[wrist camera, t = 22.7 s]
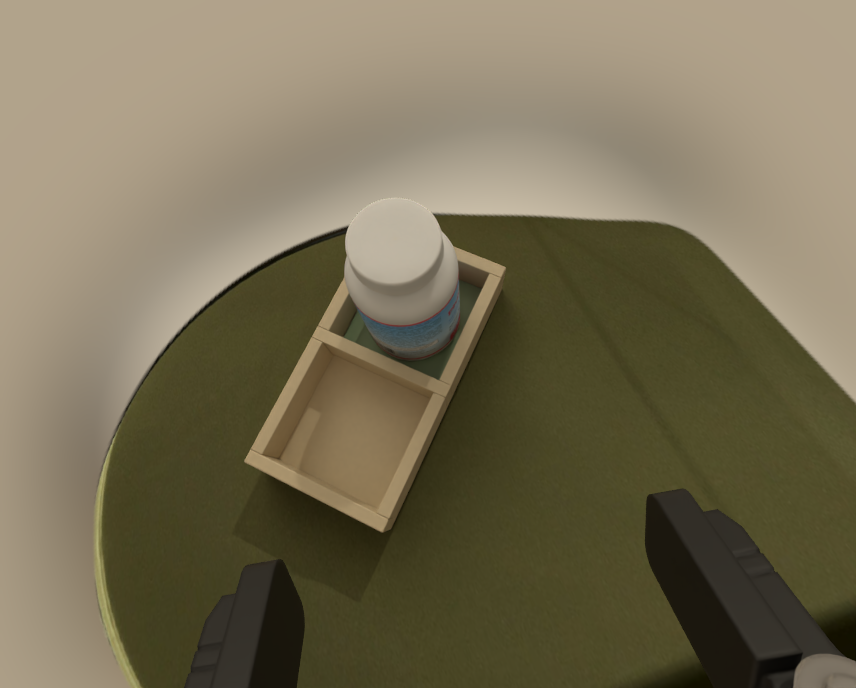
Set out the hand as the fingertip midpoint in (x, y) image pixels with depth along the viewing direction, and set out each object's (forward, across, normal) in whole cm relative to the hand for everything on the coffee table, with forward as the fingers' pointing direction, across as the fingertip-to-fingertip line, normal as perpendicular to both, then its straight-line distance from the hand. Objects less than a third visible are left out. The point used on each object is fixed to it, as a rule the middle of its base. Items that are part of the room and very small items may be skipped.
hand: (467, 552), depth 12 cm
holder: (+22, +3, +8) cm, 24 cm away
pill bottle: (+24, +1, +6) cm, 25 cm away
